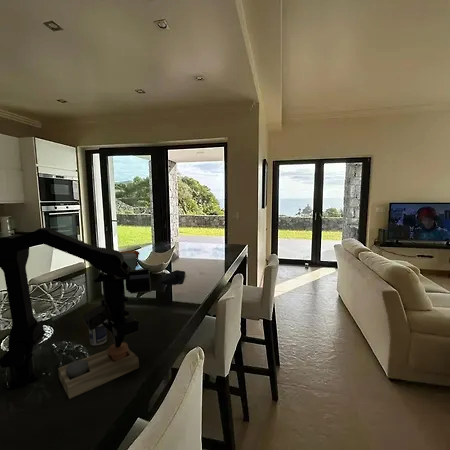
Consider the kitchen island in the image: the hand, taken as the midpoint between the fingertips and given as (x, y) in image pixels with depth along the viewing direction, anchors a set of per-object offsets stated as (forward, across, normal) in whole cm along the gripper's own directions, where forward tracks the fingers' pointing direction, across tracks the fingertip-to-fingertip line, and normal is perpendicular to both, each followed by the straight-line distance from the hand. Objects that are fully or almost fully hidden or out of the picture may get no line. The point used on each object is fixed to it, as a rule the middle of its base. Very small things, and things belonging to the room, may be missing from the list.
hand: (118, 346), depth 81 cm
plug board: (+6, 0, -6) cm, 8 cm away
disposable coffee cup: (+6, -90, +41) cm, 99 cm away
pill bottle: (+6, -18, 0) cm, 19 cm away
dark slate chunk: (+6, -64, +58) cm, 86 cm away
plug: (+5, 0, -11) cm, 12 cm away
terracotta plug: (+5, 0, 0) cm, 5 cm away
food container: (+6, -116, +52) cm, 128 cm away
